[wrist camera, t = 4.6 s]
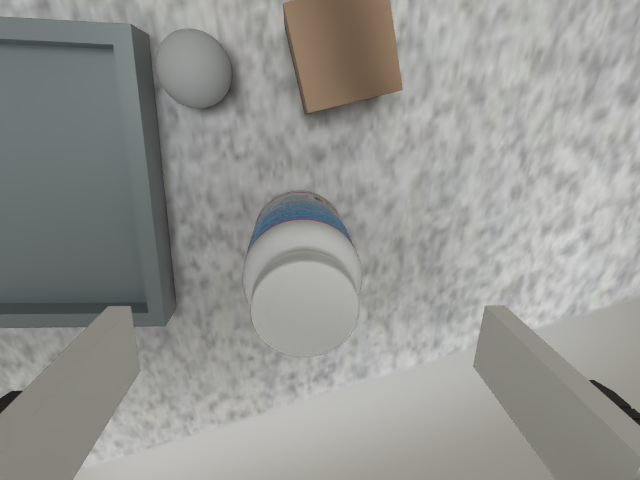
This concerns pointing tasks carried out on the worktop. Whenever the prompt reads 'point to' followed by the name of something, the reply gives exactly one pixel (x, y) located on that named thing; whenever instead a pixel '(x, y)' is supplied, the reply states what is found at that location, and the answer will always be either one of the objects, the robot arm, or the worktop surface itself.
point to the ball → (193, 68)
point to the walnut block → (342, 50)
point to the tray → (80, 176)
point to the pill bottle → (302, 276)
